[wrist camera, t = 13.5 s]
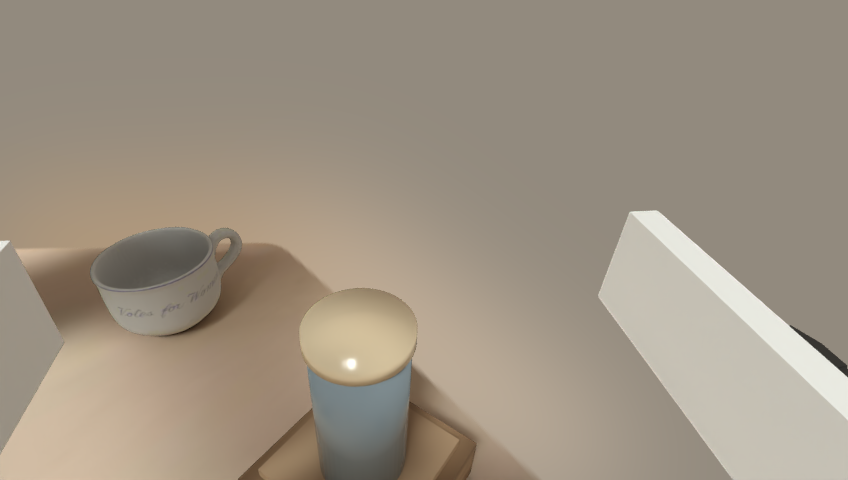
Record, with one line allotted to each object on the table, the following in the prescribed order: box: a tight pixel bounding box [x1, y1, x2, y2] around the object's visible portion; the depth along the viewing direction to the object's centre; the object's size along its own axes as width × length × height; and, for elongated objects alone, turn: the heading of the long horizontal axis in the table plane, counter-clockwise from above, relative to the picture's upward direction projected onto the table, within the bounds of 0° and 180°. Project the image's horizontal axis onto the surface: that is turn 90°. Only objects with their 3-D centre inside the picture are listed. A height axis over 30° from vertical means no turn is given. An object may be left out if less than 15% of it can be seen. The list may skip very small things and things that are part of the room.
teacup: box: [90, 227, 242, 336], centre depth 48 cm, size 14×11×8 cm
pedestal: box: [238, 401, 477, 480], centre depth 34 cm, size 12×12×5 cm
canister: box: [299, 288, 417, 480], centre depth 29 cm, size 6×6×13 cm
